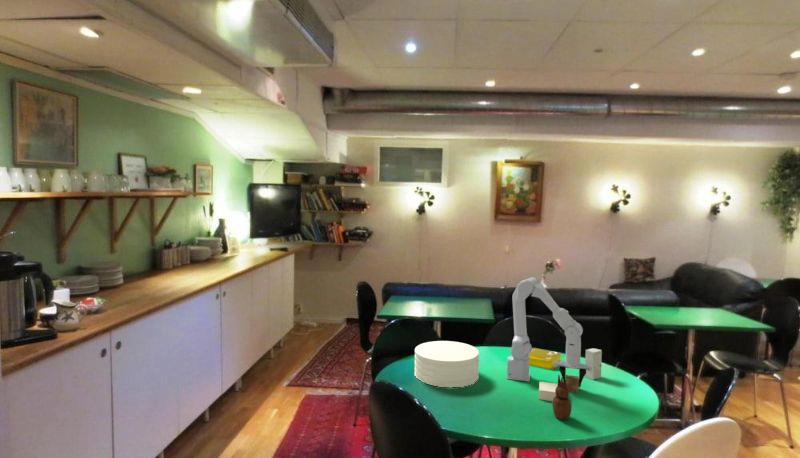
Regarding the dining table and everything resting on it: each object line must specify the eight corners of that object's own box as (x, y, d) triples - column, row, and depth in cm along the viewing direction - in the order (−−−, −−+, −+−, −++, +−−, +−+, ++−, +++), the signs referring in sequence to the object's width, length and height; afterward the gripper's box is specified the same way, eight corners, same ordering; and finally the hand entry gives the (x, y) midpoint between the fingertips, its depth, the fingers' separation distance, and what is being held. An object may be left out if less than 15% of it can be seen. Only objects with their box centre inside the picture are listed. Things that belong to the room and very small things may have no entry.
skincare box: (593, 380, 204) (594, 352, 203) (584, 376, 208) (585, 349, 207) (601, 377, 207) (602, 350, 207) (592, 374, 211) (593, 347, 210)
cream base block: (538, 400, 184) (539, 390, 184) (539, 391, 192) (539, 381, 192) (563, 403, 181) (563, 393, 181) (562, 394, 190) (562, 384, 189)
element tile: (531, 355, 237) (532, 346, 237) (562, 361, 228) (562, 352, 228) (520, 363, 225) (521, 354, 224) (552, 370, 216) (552, 360, 216)
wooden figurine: (549, 413, 172) (550, 373, 171) (565, 413, 172) (566, 372, 171) (557, 422, 165) (558, 380, 164) (573, 421, 165) (574, 379, 164)
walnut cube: (565, 391, 192) (565, 379, 192) (565, 386, 197) (565, 374, 196) (578, 392, 190) (578, 380, 190) (578, 388, 195) (578, 376, 195)
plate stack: (405, 382, 200) (405, 355, 199) (426, 361, 226) (426, 338, 225) (469, 393, 189) (470, 365, 189) (484, 370, 215) (485, 345, 215)
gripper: (554, 354, 191) (553, 386, 192) (592, 358, 187) (591, 391, 187) (554, 348, 198) (553, 380, 199) (591, 352, 193) (590, 385, 194)
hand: (571, 385), depth 193 cm, fingers closed on walnut cube, 5 cm apart
